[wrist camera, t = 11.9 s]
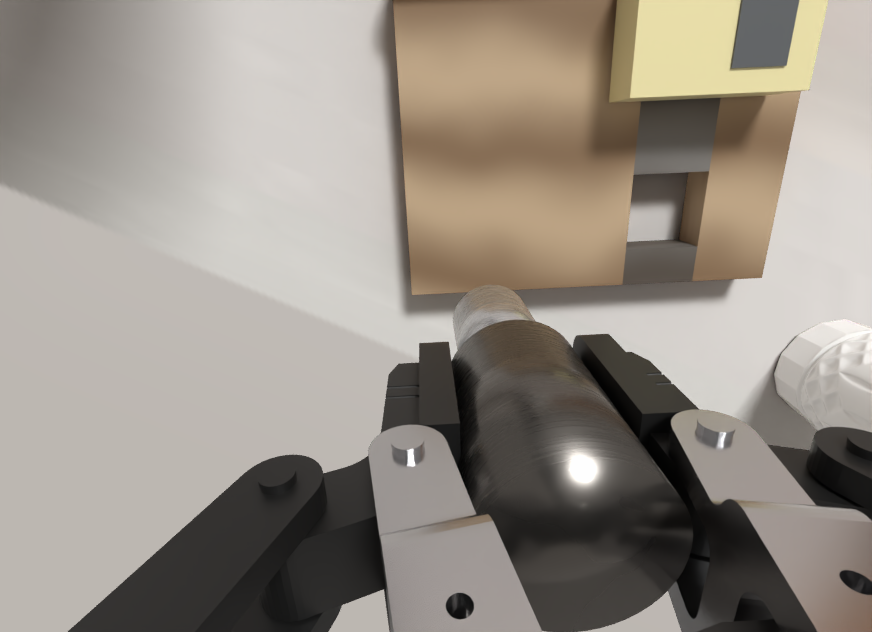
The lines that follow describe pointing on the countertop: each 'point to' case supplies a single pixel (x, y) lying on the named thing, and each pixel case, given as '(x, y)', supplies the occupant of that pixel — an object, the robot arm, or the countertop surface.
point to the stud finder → (713, 48)
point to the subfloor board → (567, 154)
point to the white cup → (829, 375)
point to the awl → (560, 471)
